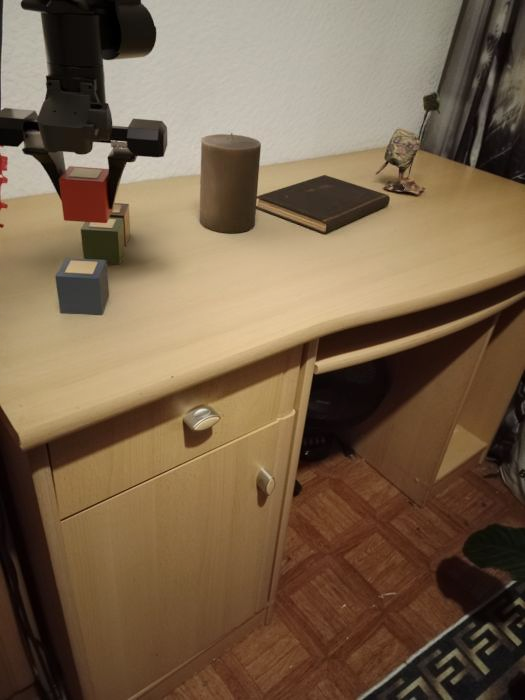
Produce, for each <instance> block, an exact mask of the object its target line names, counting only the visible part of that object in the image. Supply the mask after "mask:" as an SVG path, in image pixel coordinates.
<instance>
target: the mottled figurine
mask: <svg viewBox="0 0 525 700" xmlns="http://www.w3.org/2000/svg"><path fill="white" fill-rule="evenodd" d="M422 104H423V110H424V114H423V119H422V120H423V121H422V122H421V123H422V124H421V126H420V129H419V133H418V134H419V135H418V134H415V133H413V132H411V131H409V130H407V129H405V128H396V130H395V131H394V132H393V134H392V136H391V138H390V139H389V143H388V144H387V146H386V149H385V152H384V157H383V158H384V160H385V162H383V163H384V164H382V165H381V167H380V168H378V170H377V171H375V173H374V175H375V176H376V175H378V174H380V172H381V171H383V170H384V169H385V168H386V167H387V166H388V165H389V164H390V165H391V166H394V167H396V168H398V177H397V180H396V181H395V180H391V181H390V180H388V181H387V182H386V184H385V185H384V186H383V187H382V189H385V190H390V191H391V192H392V191H393V192H407V193H413V194H414V195H420V194H421V193H422V191H425V190H426V187H421V186H420V185H418V184H417V183H416V182H415V181H416V180H415V178H412V177H410V175H411V170H412V166H413V163H414V160H415V158H416V156H417V153H418V151H419V149H420V147H421V144H422V143H421V142H422V141H421V135H422V132H423V128H424V124H425V122H426V119H427V118H428V115H429V114H428V113H429V112H431V111H434V112H437V114H441V111H440V107H441V101H440V96H439V92H437V91H432V92H430V93H427V94H425V95H424V96H423V97H422ZM407 169H409V170H408V175H407V177H404V176H405V173H406V171H407ZM420 187H421V188H420ZM404 189H405V190H404Z"/></svg>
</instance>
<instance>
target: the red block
mask: <svg viewBox="0 0 525 700" xmlns="http://www.w3.org/2000/svg"><path fill="white" fill-rule="evenodd" d="M108 175H109V168H99V167H88V166H87V167H86V166H85V167H84V166H73V165H69V166H68V167H67V168H66V171H65V172H64V173H63V175H62V176H61V177H60V178H59V184H60V192H61V199H60V201H61V200H62V201H61V207H62V215H63V217H62V218H63V221H65V222H81V223H84V222H95V223H107V221H108V219H109V217H110V215H111V213H112V211H113V209H114V206H113V208H112V209H109V203H108Z"/></svg>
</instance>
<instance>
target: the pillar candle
mask: <svg viewBox="0 0 525 700" xmlns="http://www.w3.org/2000/svg"><path fill="white" fill-rule="evenodd" d="M200 141H201V142H200V143H201V146H200V176H199V180H200V181H199V223H200V224H201V225H202V226H203V227H204V228H206V229H208V230H212V231H215V232H219V233H225V234H226V233H228V234H234V233H237V234H238V233H242V232H248V231H250V230H252V229H253V228H254V227H255V225H256V214H257V209H256V206H257V202H258V199H257V196H258V186H259V173H260V162H261V161H260V160H261V149H262V144H261V141H259V140H258V139H255V138H253V137H250V136H246V135H240V134H233V132H230V133H229V134H226V133H225V134H224V133H221V134H220V133H218V134H208V135H206V136H202V137H201V138H200Z"/></svg>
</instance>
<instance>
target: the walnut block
mask: <svg viewBox="0 0 525 700" xmlns="http://www.w3.org/2000/svg"><path fill="white" fill-rule="evenodd" d="M110 217H111V218H123V224H124V242H125V248H126V247H127V245H128V242H129V240H130V239H129V238H130V237H131V217H130V204H129V203H121V202H114V209H113V211H112V213H111V215H110Z"/></svg>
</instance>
